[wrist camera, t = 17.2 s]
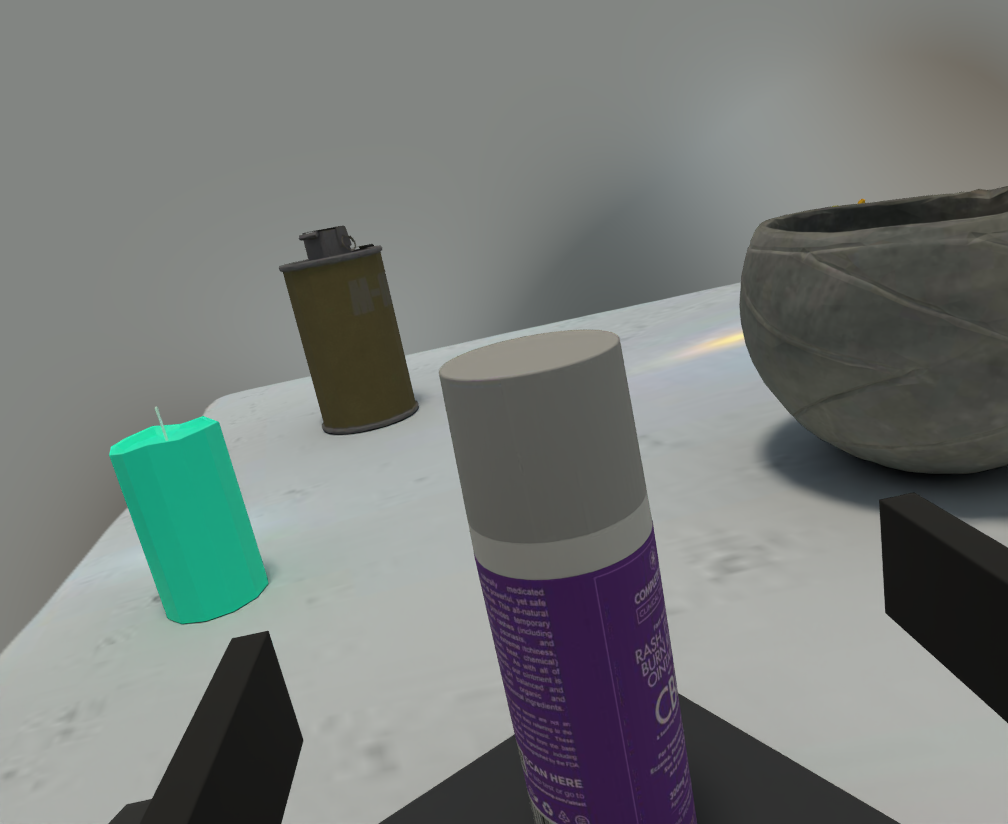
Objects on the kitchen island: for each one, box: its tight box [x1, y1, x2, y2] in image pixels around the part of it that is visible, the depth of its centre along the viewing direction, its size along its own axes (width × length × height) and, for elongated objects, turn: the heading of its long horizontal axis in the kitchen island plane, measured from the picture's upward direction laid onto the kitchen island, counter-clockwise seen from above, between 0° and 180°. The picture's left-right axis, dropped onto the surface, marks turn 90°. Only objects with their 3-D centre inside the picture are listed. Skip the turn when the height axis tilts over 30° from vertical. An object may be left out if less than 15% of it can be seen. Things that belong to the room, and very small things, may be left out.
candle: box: [109, 407, 268, 624], centre depth 42 cm, size 6×6×12 cm
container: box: [439, 330, 697, 824], centre depth 20 cm, size 5×5×15 cm
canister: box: [279, 226, 418, 434], centre depth 76 cm, size 11×10×20 cm
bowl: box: [740, 186, 1008, 474], centre depth 42 cm, size 21×21×15 cm
